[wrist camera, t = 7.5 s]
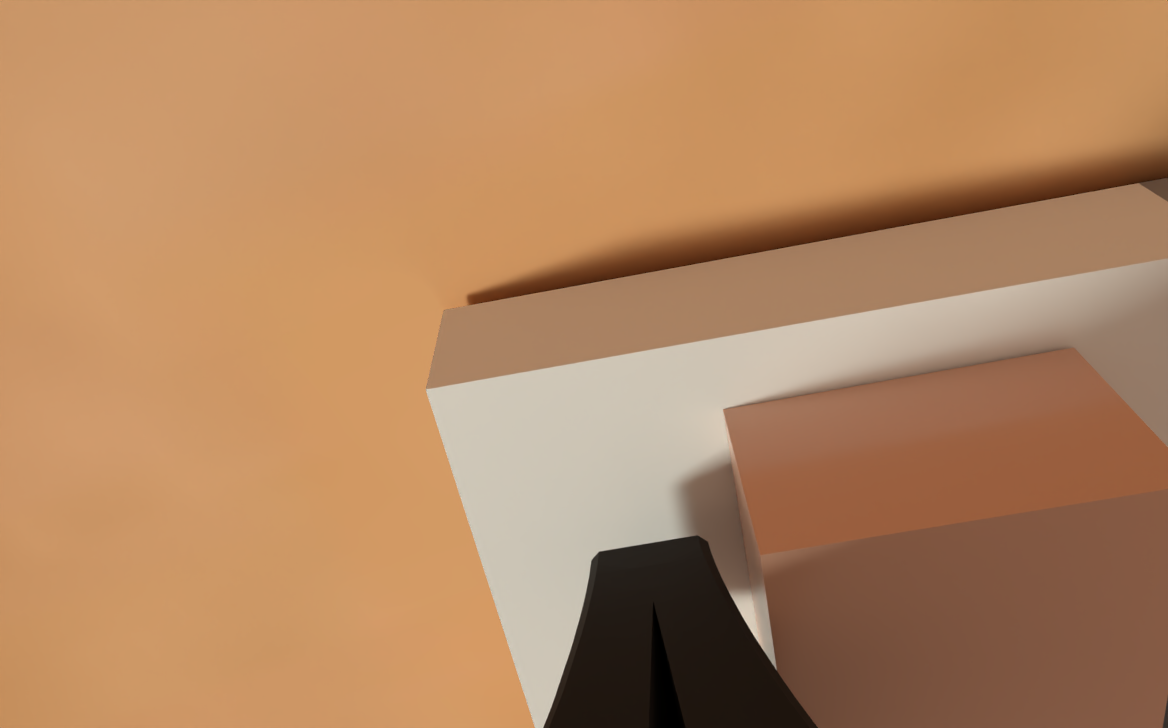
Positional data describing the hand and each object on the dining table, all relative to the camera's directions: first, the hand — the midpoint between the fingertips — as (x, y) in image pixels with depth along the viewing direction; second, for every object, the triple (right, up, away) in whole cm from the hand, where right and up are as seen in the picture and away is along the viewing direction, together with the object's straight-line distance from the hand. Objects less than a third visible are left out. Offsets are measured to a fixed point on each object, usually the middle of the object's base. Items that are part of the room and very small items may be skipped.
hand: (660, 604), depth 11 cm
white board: (+3, 0, +4) cm, 4 cm away
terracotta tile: (+3, +1, +1) cm, 3 cm away
